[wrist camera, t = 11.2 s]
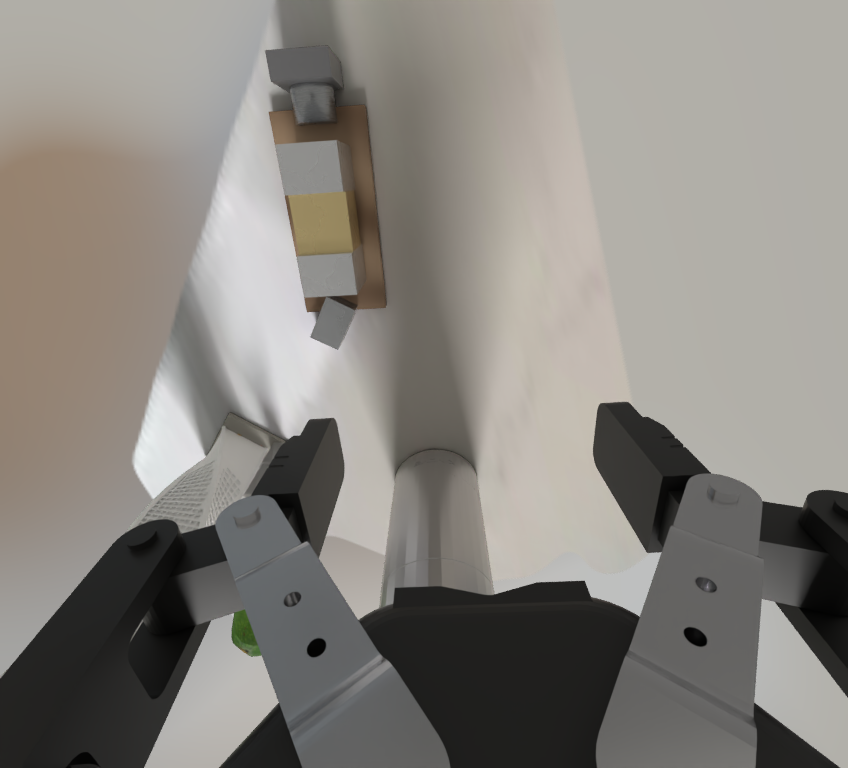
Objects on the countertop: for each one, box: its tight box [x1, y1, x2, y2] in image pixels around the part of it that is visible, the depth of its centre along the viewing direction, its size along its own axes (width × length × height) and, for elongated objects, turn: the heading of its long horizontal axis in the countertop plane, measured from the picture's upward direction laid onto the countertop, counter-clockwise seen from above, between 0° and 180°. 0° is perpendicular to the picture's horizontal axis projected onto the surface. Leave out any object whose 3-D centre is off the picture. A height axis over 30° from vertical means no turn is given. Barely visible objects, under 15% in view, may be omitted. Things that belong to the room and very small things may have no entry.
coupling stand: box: [265, 45, 386, 350], centre depth 32 cm, size 21×7×4 cm, turn 4°
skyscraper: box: [0, 412, 286, 678], centre depth 32 cm, size 8×8×28 cm
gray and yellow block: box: [275, 140, 366, 298], centre depth 31 cm, size 4×10×5 cm, turn 4°
